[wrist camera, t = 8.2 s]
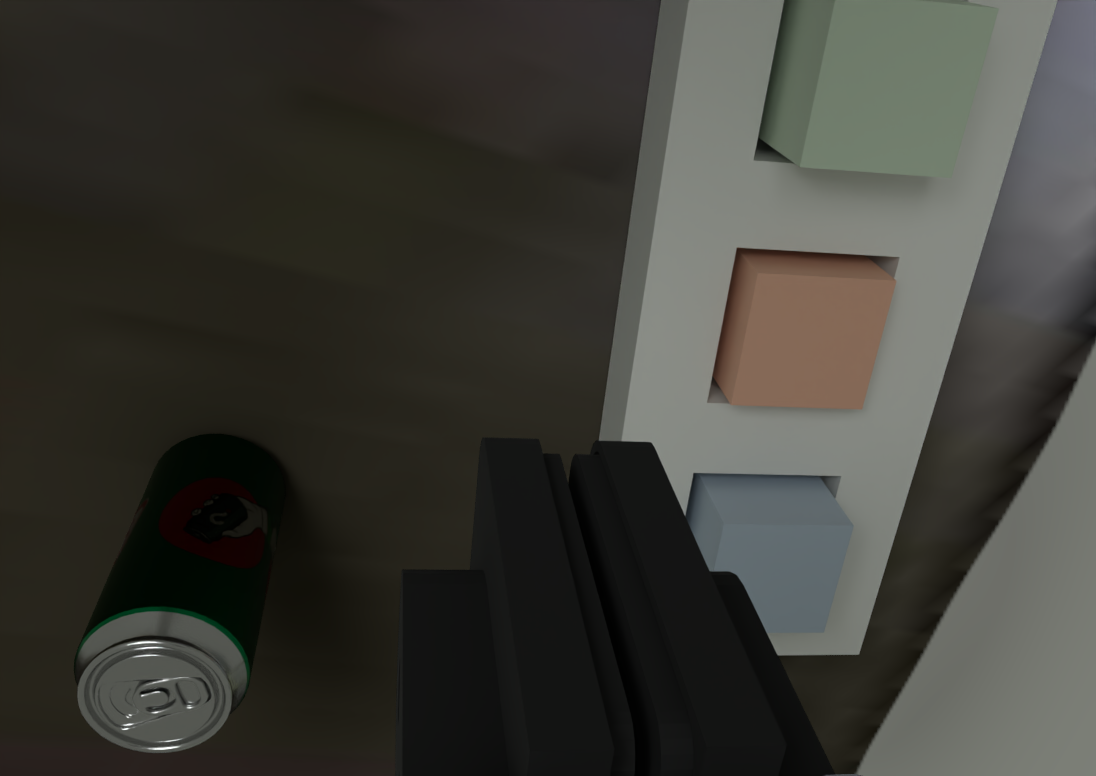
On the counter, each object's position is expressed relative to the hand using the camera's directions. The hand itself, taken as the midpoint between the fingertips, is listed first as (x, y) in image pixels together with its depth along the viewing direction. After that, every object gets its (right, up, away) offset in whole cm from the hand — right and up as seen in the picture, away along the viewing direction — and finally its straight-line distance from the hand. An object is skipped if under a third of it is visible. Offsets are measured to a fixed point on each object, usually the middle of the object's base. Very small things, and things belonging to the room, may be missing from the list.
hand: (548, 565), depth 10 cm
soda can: (-13, -2, +30) cm, 33 cm away
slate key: (+8, -4, +31) cm, 32 cm away
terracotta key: (+9, +5, +29) cm, 30 cm away
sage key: (+10, +12, +23) cm, 28 cm away
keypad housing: (+9, +5, +29) cm, 31 cm away
